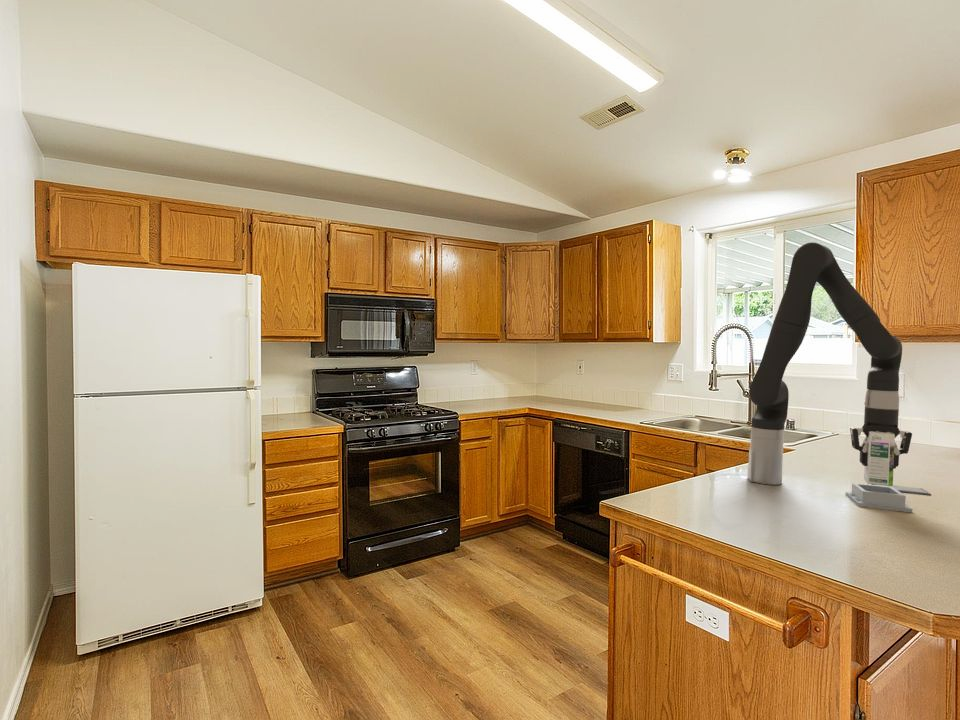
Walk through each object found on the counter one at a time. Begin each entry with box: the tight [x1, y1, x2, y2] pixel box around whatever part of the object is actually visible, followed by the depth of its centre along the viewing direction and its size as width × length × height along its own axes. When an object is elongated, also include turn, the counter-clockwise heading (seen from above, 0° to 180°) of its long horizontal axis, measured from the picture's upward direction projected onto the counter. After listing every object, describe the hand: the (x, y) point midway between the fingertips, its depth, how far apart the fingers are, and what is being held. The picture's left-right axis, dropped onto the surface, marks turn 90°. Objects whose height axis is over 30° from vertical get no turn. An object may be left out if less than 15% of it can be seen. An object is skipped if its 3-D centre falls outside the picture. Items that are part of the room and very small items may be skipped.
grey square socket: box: [845, 482, 913, 513], centre depth 147 cm, size 12×12×4 cm
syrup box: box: [863, 431, 896, 486], centre depth 147 cm, size 6×6×14 cm
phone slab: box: [870, 484, 932, 497], centre depth 163 cm, size 7×13×1 cm, turn 68°
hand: (878, 466), depth 147 cm, fingers closed on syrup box, 6 cm apart
